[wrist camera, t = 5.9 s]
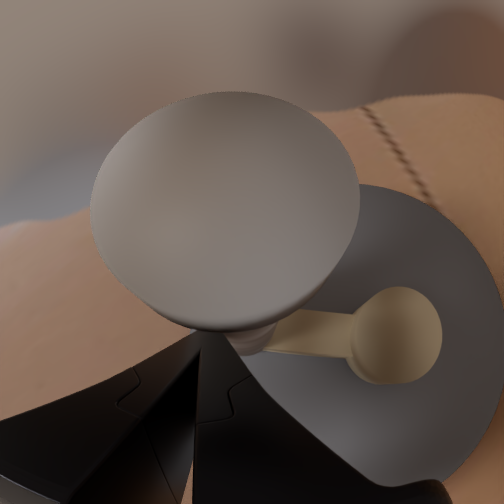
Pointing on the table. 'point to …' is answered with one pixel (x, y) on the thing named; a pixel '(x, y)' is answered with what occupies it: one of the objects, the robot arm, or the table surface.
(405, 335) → the crank handle
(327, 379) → the dial plate
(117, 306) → the table surface
